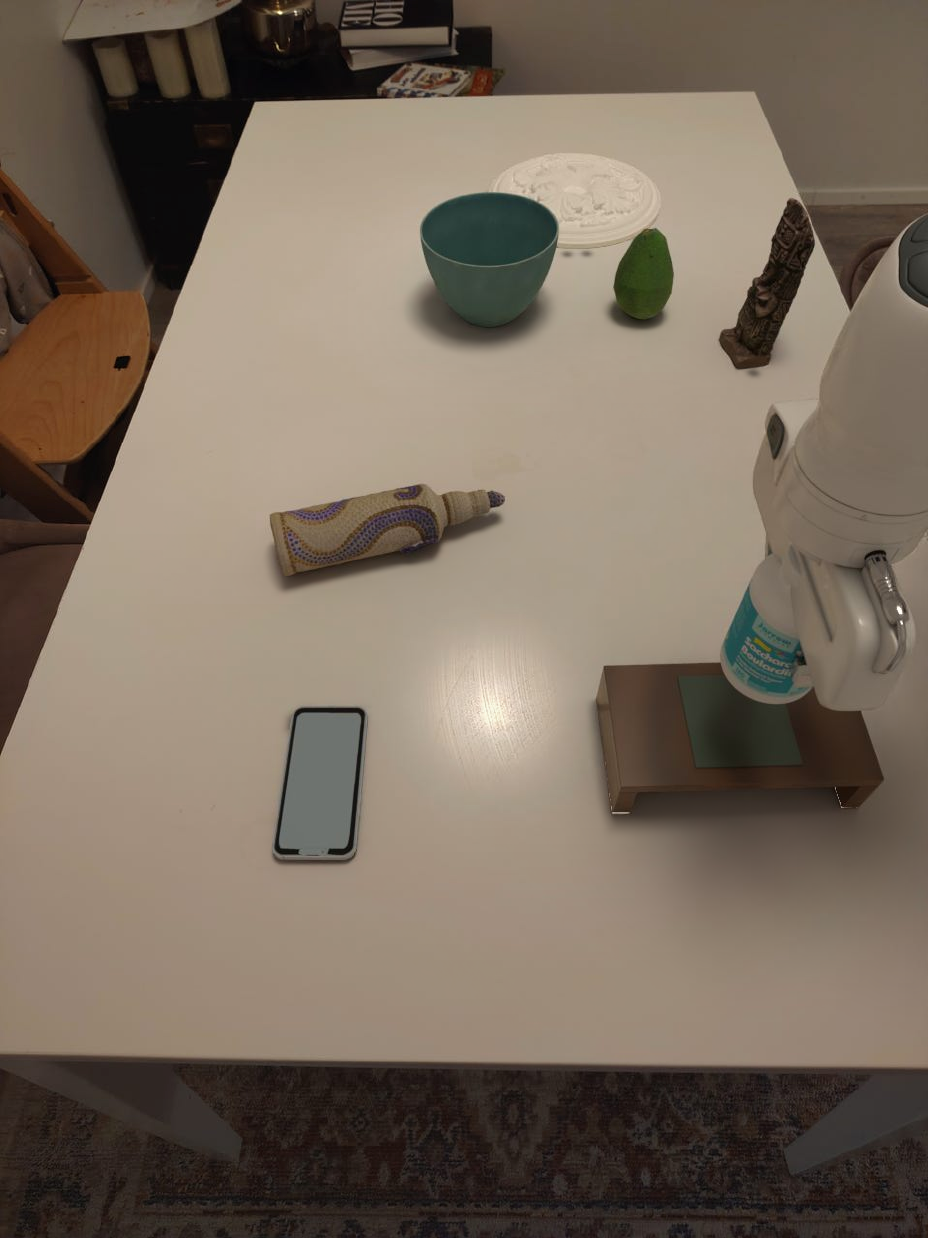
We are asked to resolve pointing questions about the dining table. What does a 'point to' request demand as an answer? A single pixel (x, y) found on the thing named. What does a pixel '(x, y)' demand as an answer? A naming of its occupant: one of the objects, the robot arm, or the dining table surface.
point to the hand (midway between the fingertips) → (786, 627)
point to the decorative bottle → (371, 525)
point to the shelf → (724, 737)
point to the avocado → (644, 275)
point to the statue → (772, 291)
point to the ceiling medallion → (586, 196)
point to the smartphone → (321, 784)
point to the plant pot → (489, 253)
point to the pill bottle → (765, 635)
